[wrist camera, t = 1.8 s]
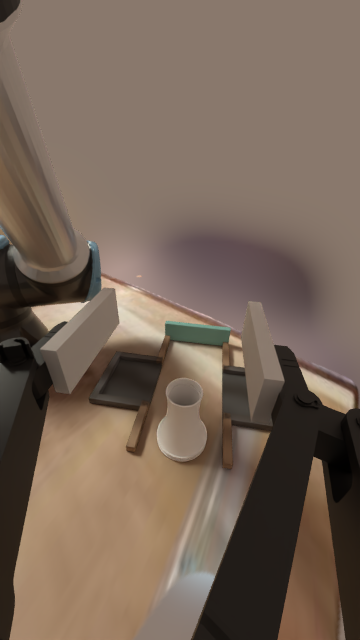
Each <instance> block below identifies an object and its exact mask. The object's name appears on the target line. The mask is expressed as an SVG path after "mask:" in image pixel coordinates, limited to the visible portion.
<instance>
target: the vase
mask: <svg viewBox="0 0 360 640" xmlns="http://www.w3.org/2000/svg"><path fill="white" fill-rule="evenodd" d="M199 392H200V393H199ZM166 397H167V404H168V407H167V414H166V416H165V417H164V418H163V419H162V420H161V422H160V423H159V425H158V428H157V442H158V446H159V448H160V450H161V451H162V452H163V454H164V455H165V456H167V457H168V458H170V459H172V460H175V461H179V462H185V461H190V460H193V459H195V458H196V457H198V456H199V455H200V454H201V453H202V451H203V450H204V448H205V445H206V440H207V430H206V427H205V425H204V423H203V421H202V420H201V419H200V416H199V408H200V403H201V399H202V397H203V390H202V387H201V386H200V384H199V383H198V382H196V381H195V380H193V379H190V378H178V379H175V380H173V381H171V382H170V383H169V384H168V386H167V388H166Z"/></svg>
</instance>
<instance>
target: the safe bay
mask: <svg viewBox="0 0 360 640" xmlns="http://www.w3.org/2000/svg"><path fill="white" fill-rule="evenodd" d="M165 335H168V336H170V340H176V341H184V342H193V343H201V344H210V345H218V346H223V342H229V336H230V328H228V327H219V326H209V325H200V324H191V323H182V322H173V321H166V323H165Z"/></svg>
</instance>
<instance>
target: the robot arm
mask: <svg viewBox="0 0 360 640" xmlns="http://www.w3.org/2000/svg"><path fill="white" fill-rule="evenodd" d="M22 5H23V0H0V228H1V229H2V230H3V232H4V233H5V235H6V236H7V237H8V239H9V240H10V241H11V242H12V244H13V245H10V244H9V240H8V239H7V238H6V237H5V236H3V235H0V640H9V638H10V632H11V627H12V621H13V615H14V607H15V594H14V586H13V578H14V571H15V566H16V561H17V556H18V551H19V546H20V541H21V536H22V531H23V526H24V521H25V516H26V511H27V506H28V501H29V496H30V491H31V486H32V481H33V476H34V471H35V466H36V461H37V456H38V451H39V446H40V441H41V436H42V431H43V426H44V421H45V416H46V411H47V406H48V401H49V392H48V389H49V388H50V387H51V385H52V384H53V386H54V389H55V391H56V392H59V393H65V394H71V392H72V391H73V389H74V388H75V386H76V385H77V383H78V382H79V381H80V379H81V378H82V376H83V375H84V373H85V372H86V370H87V369H88V368H89V366H90V365H91V363H92V362H93V360H94V359H95V357H96V356H97V355H98V353H99V352H100V350H101V349H102V347H103V346H104V344H105V343H106V342H107V340H108V339H109V337H110V336H111V334H112V333H113V331H114V330H115V329H116V327H117V326H118V324H119V316H118V309H117V301H116V293H115V289H114V288H103V289H102V290H101V268H100V257H99V250H98V246H97V244H96V243H95V242H90V241H86V239H85V237H84V236H83V235H82V234H81V233H80V232H79V231H78V230H76V229H75V228H73V226H72V223H71V220H70V218H69V214H68V211H67V208H66V205H65V202H64V199H63V196H62V193H61V190H60V187H59V184H58V181H57V177H56V174H55V172H54V168H53V165H52V162H51V159H50V156H49V153H48V150H47V147H46V144H45V141H44V138H43V135H42V132H41V129H40V126H39V123H38V120H37V117H36V113H35V110H34V107H33V104H32V101H31V98H30V95H29V92H28V89H27V86H26V83H25V80H24V77H23V74H22V71H21V68H20V65H19V62H18V59H17V56H16V53H15V49H14V47H13V44H12V40H11V37H10V31H11V29H12V28H13V26H14V24H15V22H16V20H17V18H18V16H19V15H20V13H21V11H22ZM87 301H90V302H89V303H87V304H86V305H85V306H84V307H83V308H82V309H81V310H80V311H79V312H78V313H77V314H76V315H75V316H74V317H73V318H72V319H71V320H70V321H69V322H65V321H64V322H62V323H60V324H58V325H56V326H55V327H54V328H53V329H51V330H50V331H48V329H47V328H46V326H45V325H44V324H43V323H42V322H41V321H40V319H39V318H38V317H37V316H36V315H35V314H34V312H33V311H32V309H31V307H34V306H45V305H55V304H66V303H76V302H81V303H85V302H87ZM241 340H242V349H243V357H244V366H245V375H246V383H247V392H248V401H249V409H250V418H251V422H256V423H263V424H269V421H270V419H271V418H272V423H273V428H272V430H271V433H270V435H269V438H268V440H267V443H266V446H265V448H264V451H263V453H262V456H261V459H260V461H259V464H258V467H257V469H256V472H255V474H254V477H253V480H252V482H251V485H250V487H249V490H248V493H247V495H246V498H245V500H244V503H243V506H242V508H241V511H240V513H239V516H238V519H237V521H236V524H235V526H234V529H233V532H232V534H231V537H230V540H229V542H228V545H227V547H226V550H225V553H224V555H223V558H222V560H221V563H220V566H219V568H218V571H217V573H216V576H215V579H214V581H213V584H212V586H211V589H210V592H209V595H208V597H207V600H206V602H205V605H204V607H203V610H202V613H201V615H200V618H199V620H198V623H197V626H196V628H195V631H194V633H193V636H192V638H191V640H277V639H278V633H279V628H280V623H281V618H282V613H283V608H284V603H285V598H286V593H287V588H288V583H289V577H290V572H291V567H292V562H293V557H294V552H295V547H296V542H297V537H298V532H299V526H300V521H301V516H302V511H303V506H304V501H305V496H306V491H307V486H308V481H309V476H310V470H311V465H312V460H313V456H314V457H316V458H318V459H320V460H322V465H323V473H324V480H325V488H326V495H327V503H328V511H329V518H330V526H331V533H332V541H333V548H334V556H335V563H336V571H337V578H338V586H339V593H340V601H341V608H342V616H343V623H344V631H345V638H346V640H360V409H356V408H355V409H350V410H349V411H348V412H347V413H346V414H344V413H341V412H339V411H336V410H333V409H331V408H328V407H326V406H324V405H322V402H321V401H320V399H319V398H318V397H317V396H316V395H315V394H314V393H312V392H311V391H309V390H308V387H307V385H306V382H305V380H304V377H303V375H302V372H301V370H300V368H299V365H298V362H297V360H296V357H295V355H294V353H293V352H292V351H291V350H290V349H289V348H288V347H287V346H279V345H274V344H273V341H272V337H271V334H270V331H269V328H268V324H267V321H266V317H265V314H264V311H263V308H262V304H261V303H260V302H248V306H247V311H246V316H245V321H244V326H243V331H242V335H241Z"/></svg>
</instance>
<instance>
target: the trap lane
mask: <svg viewBox="0 0 360 640" xmlns="http://www.w3.org/2000/svg"><path fill="white" fill-rule="evenodd" d="M169 342H170V336H168V335H165V338H164V340H163V343H162V346H161V349H160V352H159V354H158V357H156V356H148V355H140V354H132V353H124V352H116V353H115V355H114V357H113V358H112V360H111V362H110V363H109V365H108V367H107V368H106V370H105V372H104V373H103V375H102V377H101V378H100V380H99V382H98V383H97V385H96V387H95V388H94V390H93V392H92V393H91V395H90V397H89V401H90V403H95V404H101V405H108V406H114V407H121V408H127V409H134V410H139V411H138V414H137V417H136V419H135V422H134V425H133V428H132V431H131V434H130V436H129V439H128V442H127V445H126V449H127V451H131V452H135V450H136V447H137V444H138V441H139V438H140V434H141V431H142V428H143V425H144V422H145V419H146V415H147V412H148V409H149V406H150V403H151V399H152V396H153V393H154V390H155V387H156V384H157V380H158V377H159V374H160V371H161V368H162V364H163V361H164V358H165V355H166V352H167V349H168V345H169ZM222 415H223V468H227V469H232V465H233V458H232V430H231V425H237V426H243V427H250V428H256V429H263V430H269V431H271V430H272V428H273V423H272V418H271V419H270V421H269V424H263V423H256V422H251V418H250V409H249V401H248V392H247V383H246V375H245V368H242V367H235V366H229V345H228V342H223V346H222Z"/></svg>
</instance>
